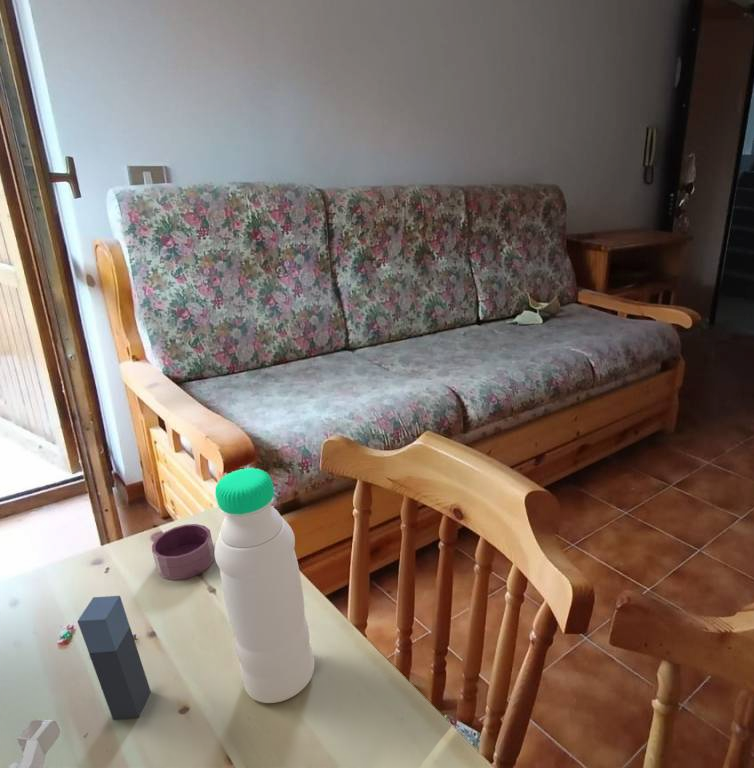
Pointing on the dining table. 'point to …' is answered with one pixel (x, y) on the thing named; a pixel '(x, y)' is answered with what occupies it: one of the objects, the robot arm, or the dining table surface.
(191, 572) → the bowl
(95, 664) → the eraser
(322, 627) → the dining table surface
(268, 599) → the water bottle
